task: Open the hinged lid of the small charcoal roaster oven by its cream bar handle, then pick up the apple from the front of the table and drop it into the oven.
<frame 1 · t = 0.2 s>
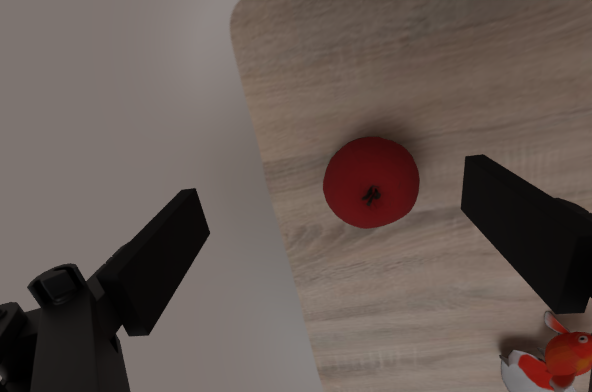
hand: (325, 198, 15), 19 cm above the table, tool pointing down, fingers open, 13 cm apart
apple: (363, 167, 34), on the table
fish: (530, 340, 44), on the table
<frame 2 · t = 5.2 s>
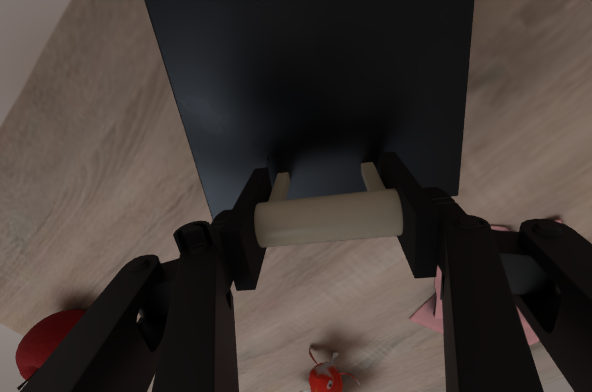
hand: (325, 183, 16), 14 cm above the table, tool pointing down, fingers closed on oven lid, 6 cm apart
apple: (85, 320, 44), on the table
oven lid: (308, 49, 13), point 15 cm above the table, hinge at 0.0°, touching gripper
fish: (331, 369, 45), on the table
cloth: (495, 284, 36), on the table
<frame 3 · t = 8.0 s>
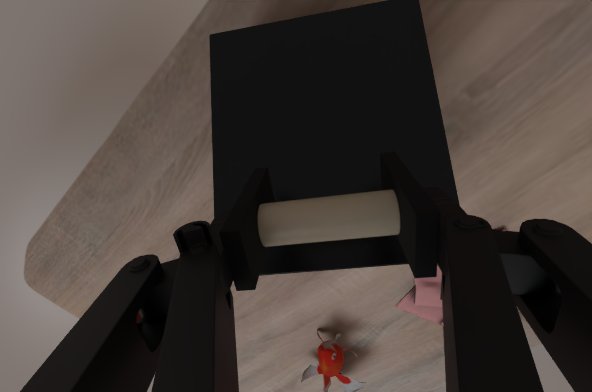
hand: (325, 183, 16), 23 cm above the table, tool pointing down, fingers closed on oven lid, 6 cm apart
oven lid: (317, 110, 17), point 20 cm above the table, hinge at 37.1°, touching gripper
fish: (334, 348, 56), on the table
cloth: (461, 278, 47), on the table
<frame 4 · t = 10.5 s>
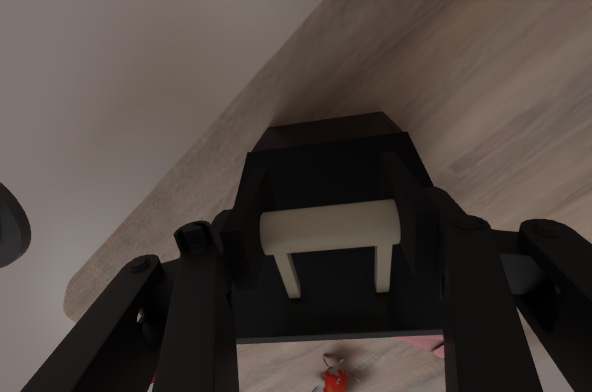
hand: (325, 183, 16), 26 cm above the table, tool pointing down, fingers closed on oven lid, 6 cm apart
roaster oven: (330, 179, 44), on the table
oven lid: (326, 179, 20), point 22 cm above the table, hinge at 73.3°, touching gripper
fish: (338, 370, 63), on the table
cloth: (449, 314, 54), on the table
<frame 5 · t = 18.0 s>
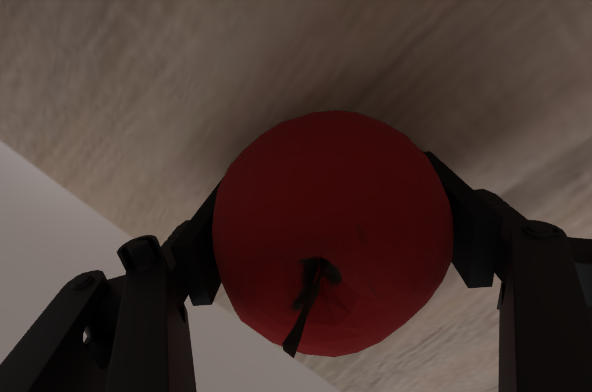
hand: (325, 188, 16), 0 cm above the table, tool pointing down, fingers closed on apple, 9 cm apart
apple: (323, 183, 16), on the table, touching gripper
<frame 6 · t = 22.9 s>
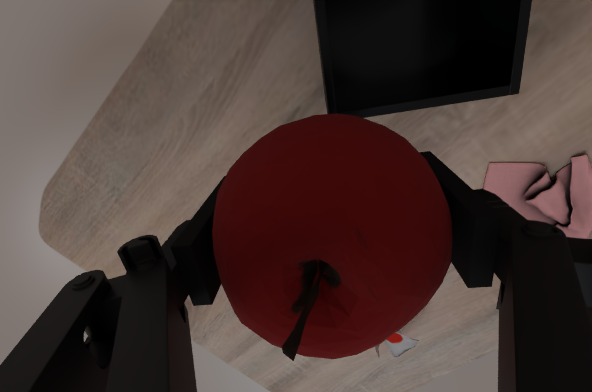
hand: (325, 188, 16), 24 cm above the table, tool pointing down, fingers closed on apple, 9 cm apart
roaster oven: (387, 8, 32), on the table
apple: (323, 185, 16), point 24 cm above the table, touching gripper
fish: (379, 306, 51), on the table
cloth: (528, 218, 42), on the table
when the fingers open (10 cm above the table, at t = 27.6 s): apple drops 8 cm, resting on roaster oven.
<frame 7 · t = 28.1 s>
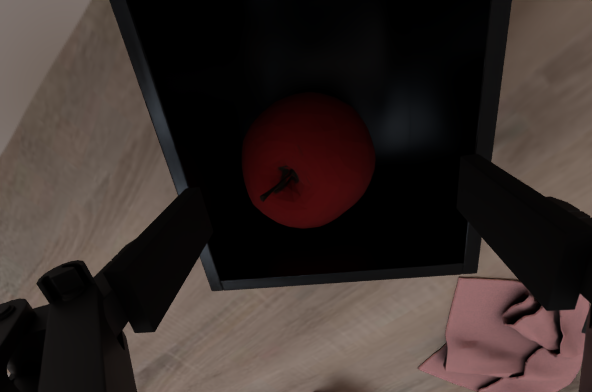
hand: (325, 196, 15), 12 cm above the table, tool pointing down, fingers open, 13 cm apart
roaster oven: (319, 101, 25), on the table
apple: (322, 142, 25), point 1 cm above the table, touching roaster oven
cloth: (509, 336, 34), on the table
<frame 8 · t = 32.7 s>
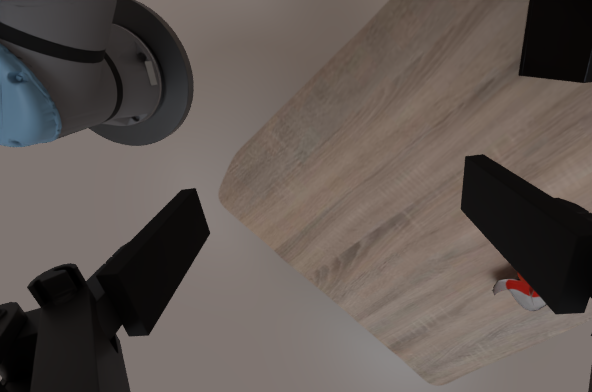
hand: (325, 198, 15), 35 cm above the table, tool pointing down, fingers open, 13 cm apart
fish: (516, 266, 57), on the table
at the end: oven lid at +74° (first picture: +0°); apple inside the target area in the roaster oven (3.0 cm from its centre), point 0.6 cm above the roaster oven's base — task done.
